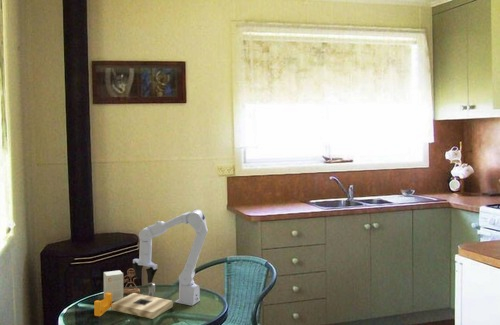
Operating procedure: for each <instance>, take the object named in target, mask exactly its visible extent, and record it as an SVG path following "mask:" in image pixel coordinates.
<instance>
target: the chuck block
mask: <svg viewBox="0 0 500 325" xmlns="http://www.w3.org/2000/svg"><path fill="white" fill-rule="evenodd" d="M173 304H174V301H173V300H172V299H168V298H161V297H157V296H155V297H152V296H149V295H147V294H142V293H130V294H128V295H127V296H123V298H122V299H120V300H118V301H113V302H112V307H111V311H116V312H119V313H124V314H129V315H132V316H133V315H134V316H137V317H143V318H147V319H151V320H154V319H155V318H156V317H158V316H160V315H162V314H164V313H165V312H167V311H168V310H170V309H172V308H173V307H174V306H173Z"/></svg>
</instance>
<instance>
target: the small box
mask: <svg viewBox="0 0 500 325" xmlns="http://www.w3.org/2000/svg"><path fill="white" fill-rule="evenodd" d="M123 278H124V272H122V271H121V270H119V269H118V270H112V271H111V270H110V271H103V299H104V298H105V294H106V293H112V303H114V302H116V301H118V300H120V299H122V298H124V294H123V289H124V280H123Z"/></svg>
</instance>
